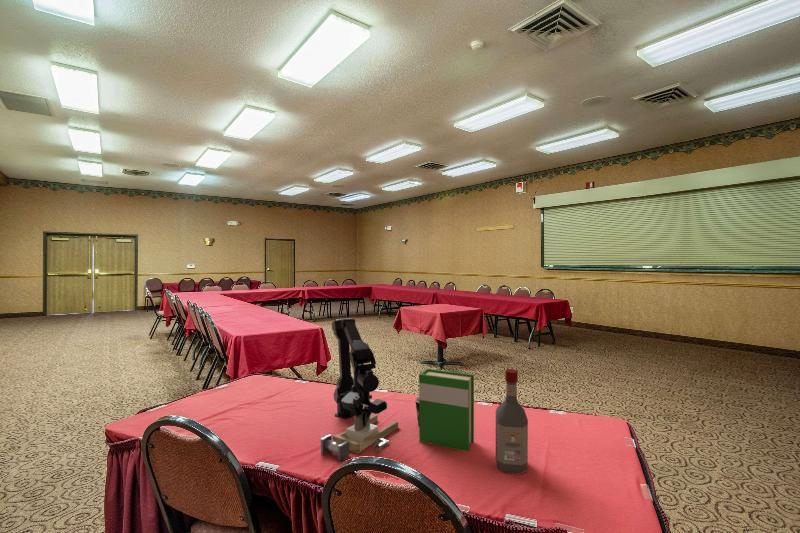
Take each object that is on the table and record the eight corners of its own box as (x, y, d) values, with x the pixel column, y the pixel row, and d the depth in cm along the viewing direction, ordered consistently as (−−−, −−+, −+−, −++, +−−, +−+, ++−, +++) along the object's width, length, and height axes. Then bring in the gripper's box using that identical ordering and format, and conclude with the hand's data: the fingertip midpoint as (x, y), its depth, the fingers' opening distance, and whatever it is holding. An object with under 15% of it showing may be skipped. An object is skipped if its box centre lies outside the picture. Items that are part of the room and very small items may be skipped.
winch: (320, 453, 130) (320, 438, 130) (329, 448, 134) (329, 434, 133) (340, 461, 125) (340, 446, 125) (348, 456, 128) (348, 441, 128)
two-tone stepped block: (346, 439, 140) (346, 416, 139) (361, 431, 146) (361, 408, 146) (363, 446, 135) (363, 421, 135) (378, 436, 142) (377, 413, 141)
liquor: (528, 475, 117) (529, 376, 116) (497, 472, 118) (497, 374, 117) (524, 459, 126) (524, 367, 125) (495, 456, 127) (495, 365, 126)
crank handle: (377, 451, 132) (376, 442, 132) (368, 447, 135) (367, 438, 134) (389, 444, 136) (389, 435, 136) (380, 440, 139) (380, 432, 139)
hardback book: (473, 441, 137) (473, 374, 136) (468, 451, 131) (468, 381, 130) (426, 432, 145) (426, 368, 144) (419, 441, 138) (419, 374, 137)
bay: (333, 444, 137) (332, 435, 137) (375, 420, 155) (375, 412, 155) (357, 453, 130) (357, 444, 130) (398, 427, 149) (398, 419, 149)
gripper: (326, 383, 138) (327, 427, 139) (367, 394, 128) (367, 441, 128) (348, 375, 148) (348, 415, 148) (387, 385, 137) (388, 428, 138)
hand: (362, 425), depth 140 cm, fingers closed on two-tone stepped block, 2 cm apart
